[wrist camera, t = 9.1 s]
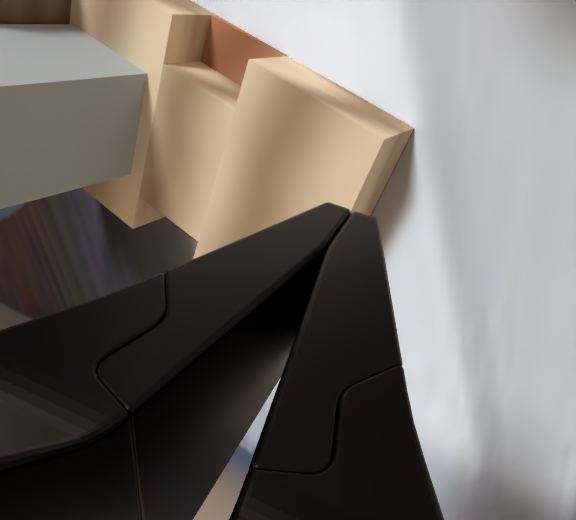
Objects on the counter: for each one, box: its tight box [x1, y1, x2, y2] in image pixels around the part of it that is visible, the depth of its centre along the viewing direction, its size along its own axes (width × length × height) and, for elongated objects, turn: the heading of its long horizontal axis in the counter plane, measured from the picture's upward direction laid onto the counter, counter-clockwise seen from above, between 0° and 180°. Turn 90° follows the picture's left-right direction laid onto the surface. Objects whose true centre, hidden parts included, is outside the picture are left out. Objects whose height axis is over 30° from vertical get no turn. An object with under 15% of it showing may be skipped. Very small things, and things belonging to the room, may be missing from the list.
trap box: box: [0, 0, 414, 259], centre depth 22 cm, size 17×10×8 cm, turn 68°
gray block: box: [0, 24, 148, 209], centre depth 22 cm, size 5×5×7 cm
